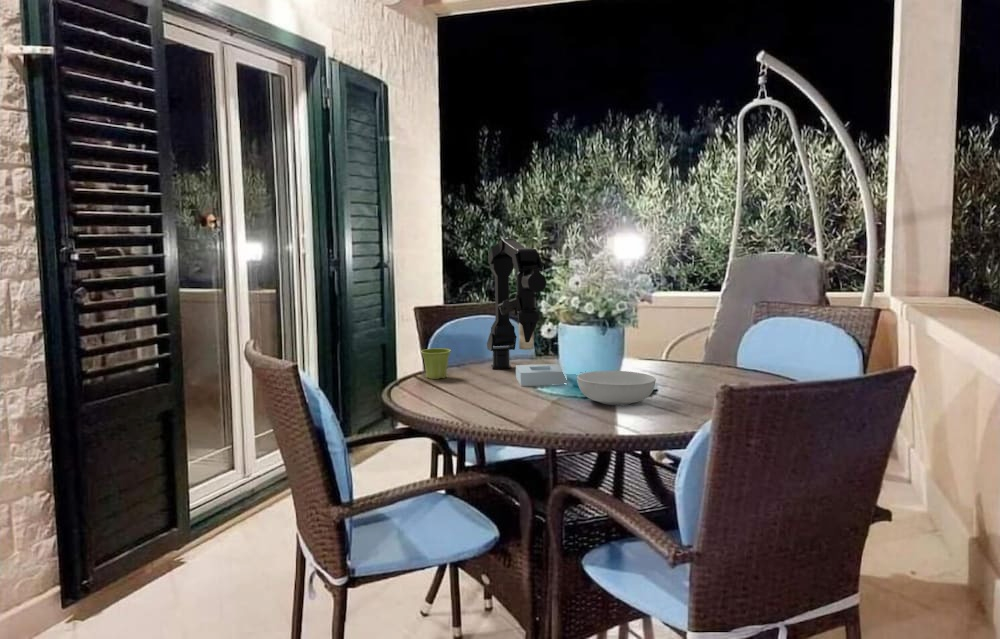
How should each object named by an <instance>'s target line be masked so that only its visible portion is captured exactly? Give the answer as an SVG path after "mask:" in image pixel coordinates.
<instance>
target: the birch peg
mask: <svg viewBox="0 0 1000 639" xmlns="http://www.w3.org/2000/svg"><path fill="white" fill-rule="evenodd" d="M534 331H535V330H534ZM534 331H533V334H532V336H531V339H530V341H529V342H525V337H524V332H523V327H522V325H521V324H520V323H519V322H518V339H519V340H518V345H519V347H518V348H519V350H524V351H525V350H527V351H528V350H534V348H535V347H534V342H535V341H534V336H535V335H534V333H535V332H534Z"/></svg>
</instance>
